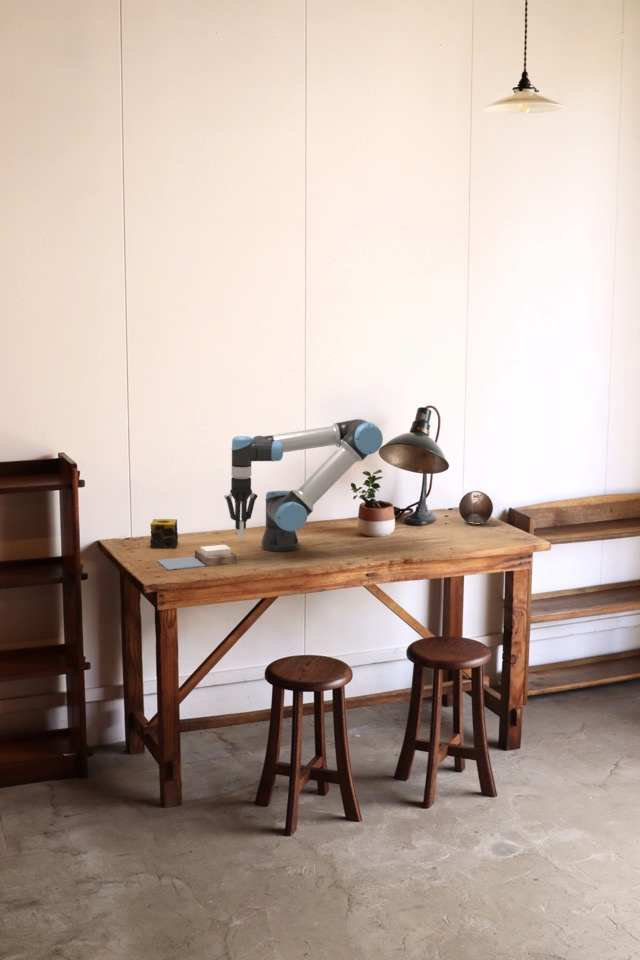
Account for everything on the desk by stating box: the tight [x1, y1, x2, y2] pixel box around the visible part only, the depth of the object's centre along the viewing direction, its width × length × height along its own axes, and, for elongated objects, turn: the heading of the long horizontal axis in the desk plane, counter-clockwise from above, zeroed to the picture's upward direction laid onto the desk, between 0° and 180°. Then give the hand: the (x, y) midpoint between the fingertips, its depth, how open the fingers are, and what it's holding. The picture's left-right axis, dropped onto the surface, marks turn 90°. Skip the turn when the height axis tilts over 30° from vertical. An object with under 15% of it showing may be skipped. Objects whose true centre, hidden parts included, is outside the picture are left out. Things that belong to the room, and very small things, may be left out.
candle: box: [149, 518, 179, 549], centre depth 426 cm, size 10×10×10 cm
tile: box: [199, 544, 232, 556], centre depth 404 cm, size 10×7×2 cm
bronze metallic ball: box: [458, 490, 494, 524], centre depth 473 cm, size 15×15×15 cm
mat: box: [156, 556, 206, 571], centre depth 399 cm, size 14×14×1 cm
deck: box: [194, 549, 238, 567], centre depth 405 cm, size 12×14×3 cm
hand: (240, 537), depth 408 cm, fingers closed
